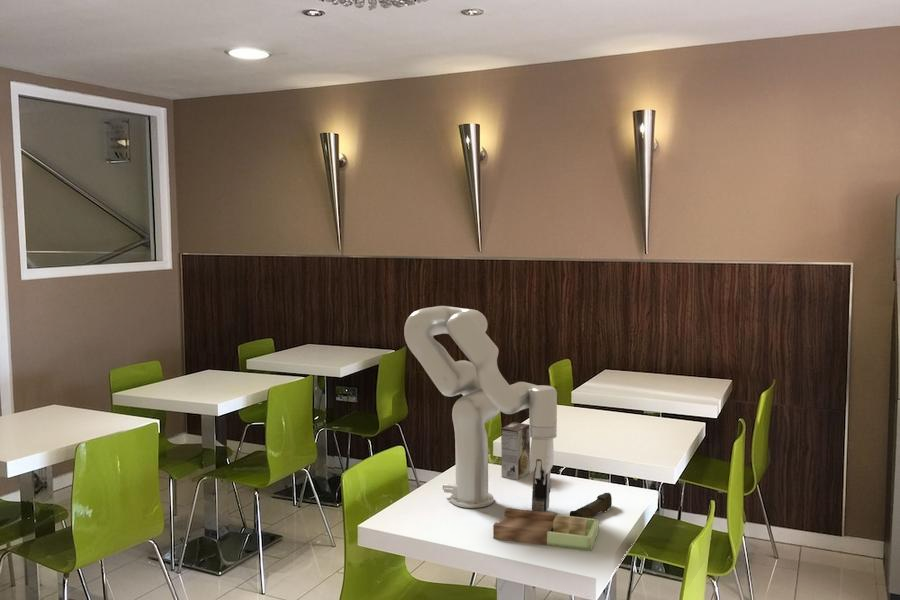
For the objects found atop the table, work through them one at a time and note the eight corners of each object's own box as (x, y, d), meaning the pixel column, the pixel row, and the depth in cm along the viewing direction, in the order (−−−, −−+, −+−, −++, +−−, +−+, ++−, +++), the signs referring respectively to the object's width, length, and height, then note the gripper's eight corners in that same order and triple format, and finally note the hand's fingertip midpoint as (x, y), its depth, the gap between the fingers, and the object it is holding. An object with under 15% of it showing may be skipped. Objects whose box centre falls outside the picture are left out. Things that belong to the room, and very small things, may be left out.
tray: (547, 545, 192) (547, 532, 192) (557, 526, 204) (557, 514, 204) (591, 550, 189) (591, 538, 188) (598, 531, 201) (598, 519, 201)
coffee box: (512, 469, 254) (512, 421, 253) (530, 472, 251) (530, 423, 250) (500, 477, 246) (500, 427, 245) (518, 480, 243) (518, 430, 242)
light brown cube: (553, 536, 196) (553, 520, 196) (556, 530, 200) (556, 515, 200) (568, 538, 195) (568, 522, 195) (571, 532, 199) (571, 517, 198)
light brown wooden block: (568, 538, 195) (568, 522, 195) (571, 532, 199) (571, 517, 198) (584, 540, 194) (584, 524, 193) (587, 534, 197) (587, 519, 197)
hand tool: (580, 527, 204) (581, 510, 204) (568, 523, 207) (568, 506, 207) (619, 509, 218) (619, 493, 217) (607, 505, 220) (607, 490, 220)
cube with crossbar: (529, 512, 210) (531, 469, 209) (536, 502, 218) (538, 461, 217) (544, 514, 209) (546, 471, 208) (550, 504, 217) (552, 463, 215)
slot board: (493, 538, 197) (493, 524, 196) (506, 520, 209) (506, 507, 209) (547, 545, 192) (547, 531, 192) (557, 526, 204) (557, 513, 204)
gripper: (536, 422, 220) (536, 484, 222) (522, 437, 205) (522, 504, 206) (562, 424, 218) (561, 487, 219) (550, 439, 202) (549, 507, 204)
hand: (542, 494), depth 213 cm, fingers closed on cube with crossbar, 4 cm apart
